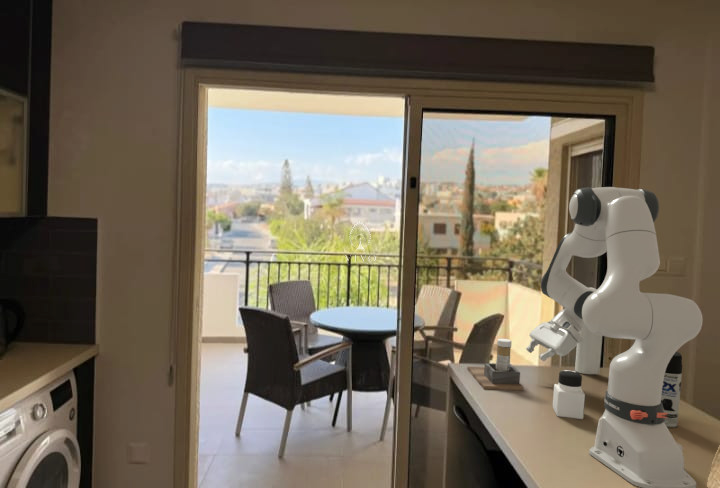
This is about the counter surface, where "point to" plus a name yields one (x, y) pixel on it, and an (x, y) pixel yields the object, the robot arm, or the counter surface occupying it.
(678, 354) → the spray can
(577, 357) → the paper towel roll
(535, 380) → the counter surface
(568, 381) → the medicine bottle
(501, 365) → the sprinkles bottle
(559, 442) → the counter surface
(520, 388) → the socket block
